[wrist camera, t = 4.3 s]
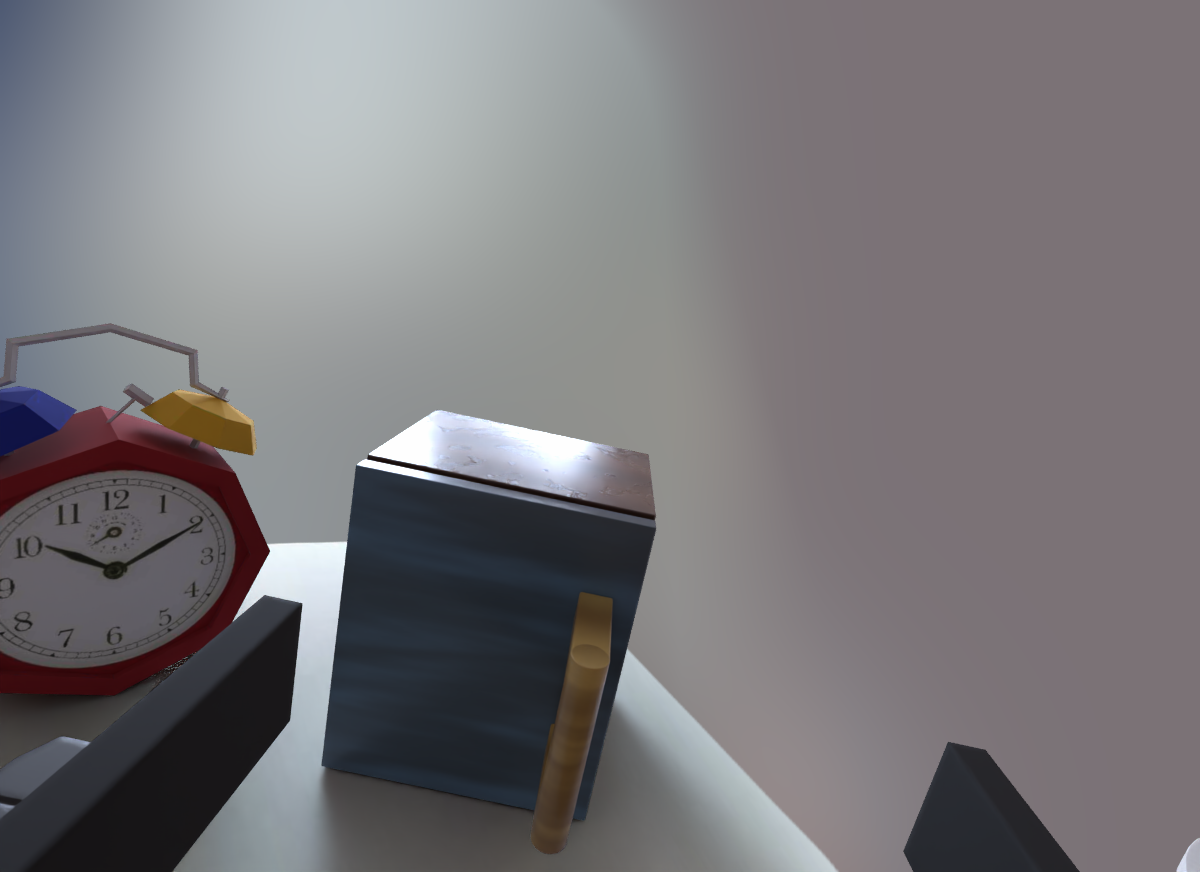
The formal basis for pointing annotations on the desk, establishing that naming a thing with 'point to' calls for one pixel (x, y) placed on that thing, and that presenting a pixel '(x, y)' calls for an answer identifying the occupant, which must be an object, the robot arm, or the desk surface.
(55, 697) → the desk surface
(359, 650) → the door
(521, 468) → the cupboard
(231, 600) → the alarm clock
